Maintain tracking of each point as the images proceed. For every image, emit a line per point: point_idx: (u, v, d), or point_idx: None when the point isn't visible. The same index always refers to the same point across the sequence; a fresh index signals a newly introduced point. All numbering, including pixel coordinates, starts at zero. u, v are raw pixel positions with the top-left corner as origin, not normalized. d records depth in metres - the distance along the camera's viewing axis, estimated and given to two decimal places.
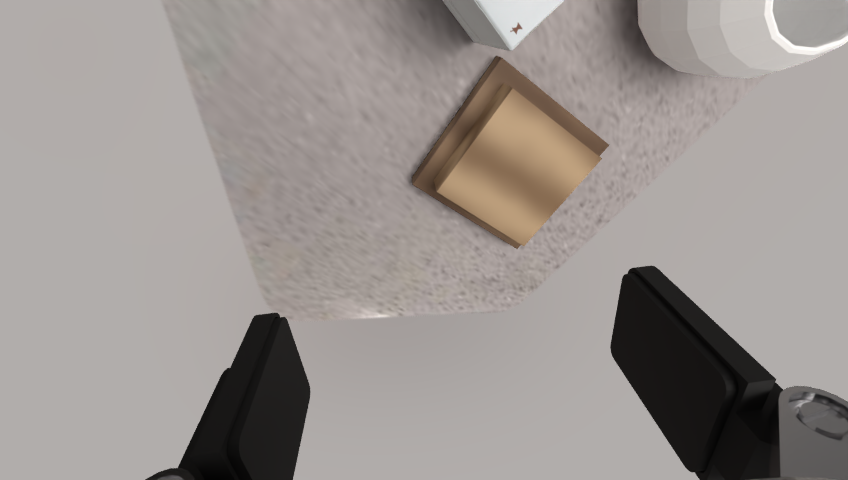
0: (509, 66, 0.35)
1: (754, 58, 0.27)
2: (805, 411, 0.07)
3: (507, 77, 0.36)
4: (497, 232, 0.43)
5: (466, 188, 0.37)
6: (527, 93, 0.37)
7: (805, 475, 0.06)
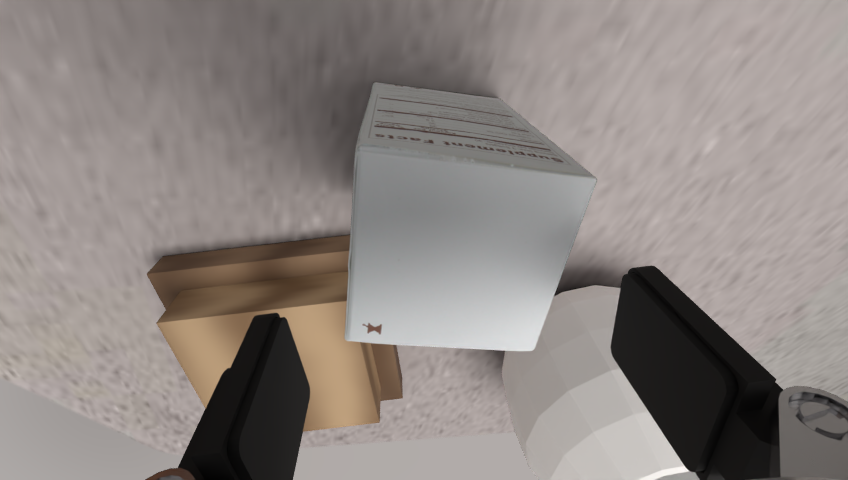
0: None
1: None
2: (805, 411, 0.07)
3: None
4: None
5: (201, 346, 0.24)
6: None
7: (805, 475, 0.06)
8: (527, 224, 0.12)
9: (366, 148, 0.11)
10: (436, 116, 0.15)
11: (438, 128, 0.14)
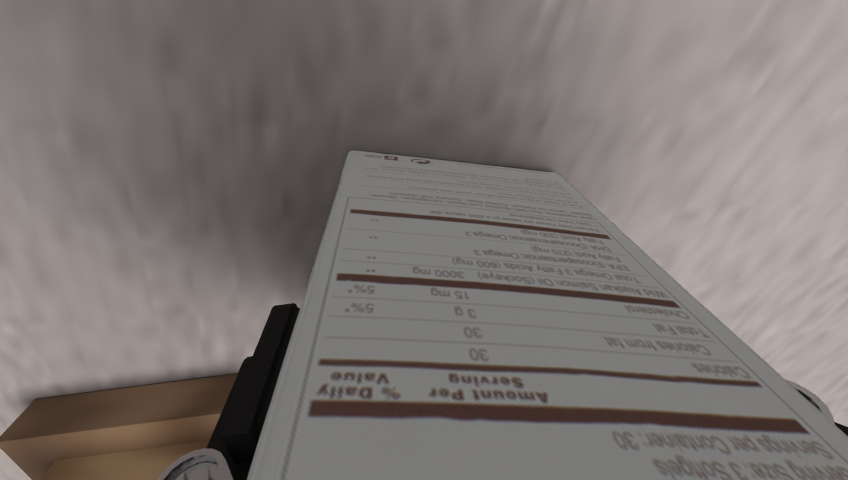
0: None
1: None
2: None
3: None
4: None
5: None
6: None
7: None
8: None
9: None
10: (474, 282, 0.07)
11: (495, 368, 0.05)
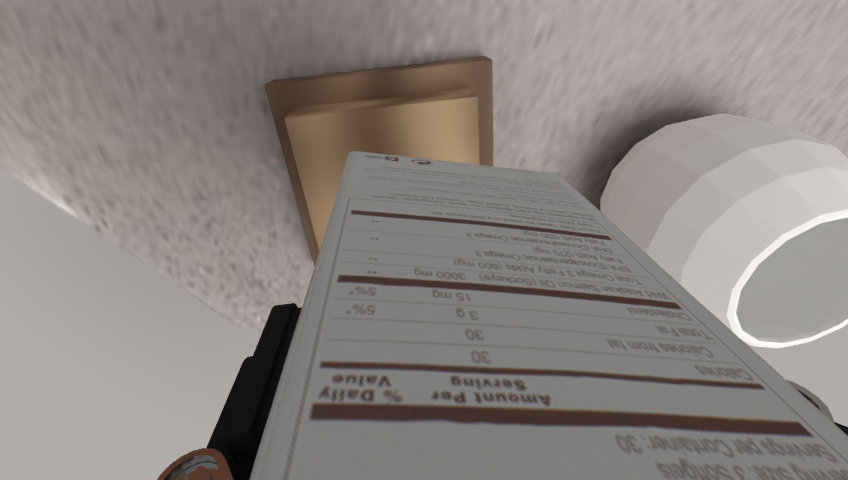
0: (489, 77, 0.25)
1: (693, 292, 0.22)
2: None
3: (477, 86, 0.25)
4: (312, 237, 0.30)
5: (323, 151, 0.24)
6: (478, 125, 0.27)
7: None
8: None
9: None
10: (476, 283, 0.07)
11: (497, 371, 0.05)
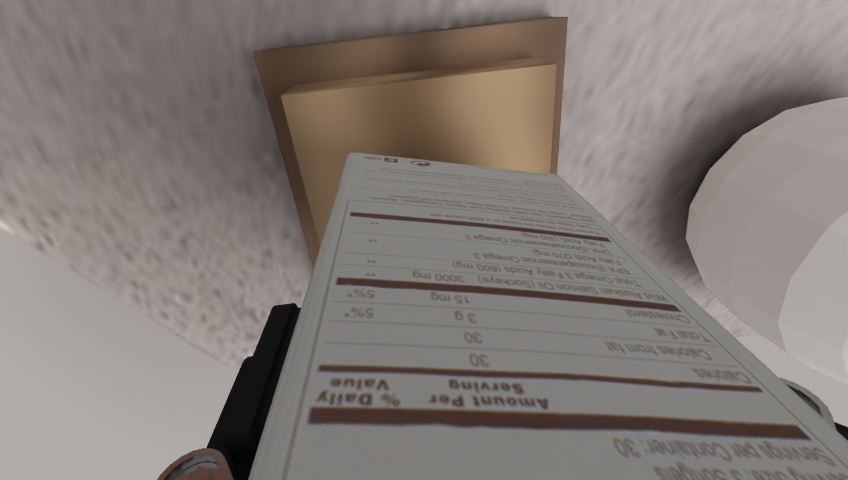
0: (562, 42, 0.18)
1: None
2: None
3: (544, 55, 0.19)
4: None
5: (336, 143, 0.17)
6: None
7: None
8: None
9: None
10: (474, 286, 0.07)
11: (495, 373, 0.05)
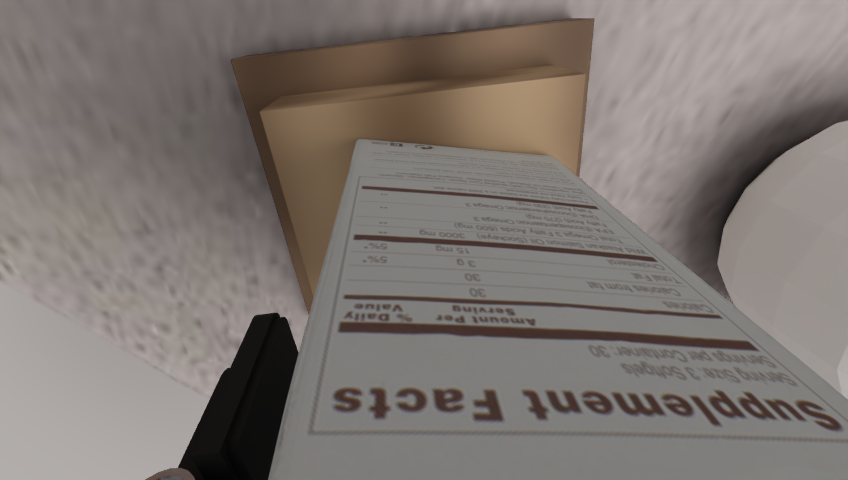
0: (587, 48, 0.16)
1: None
2: None
3: (567, 62, 0.16)
4: (309, 288, 0.20)
5: (326, 166, 0.14)
6: None
7: None
8: None
9: None
10: (474, 241, 0.08)
11: (492, 302, 0.06)
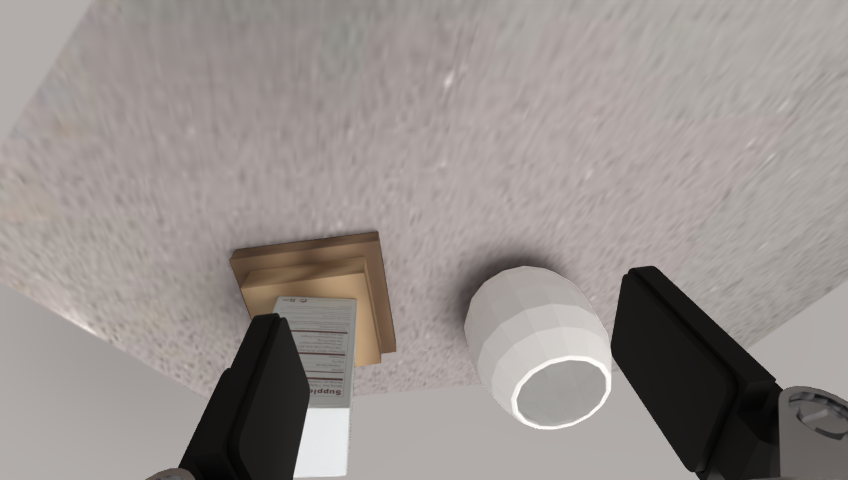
0: (378, 250, 0.39)
1: (498, 396, 0.35)
2: (805, 411, 0.07)
3: (370, 255, 0.39)
4: None
5: (267, 305, 0.37)
6: (374, 276, 0.40)
7: (805, 475, 0.06)
8: (321, 426, 0.27)
9: None
10: None
11: None
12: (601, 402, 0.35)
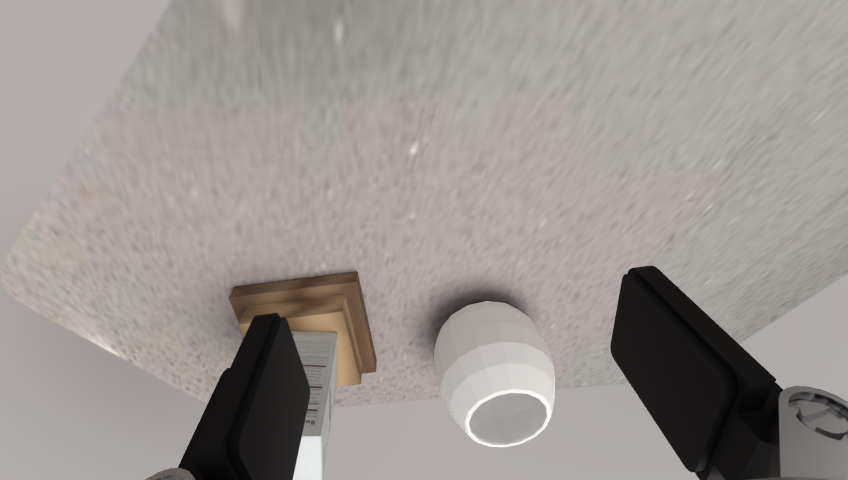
0: (356, 289, 0.45)
1: (456, 418, 0.42)
2: (805, 411, 0.07)
3: (350, 293, 0.45)
4: None
5: None
6: (354, 310, 0.46)
7: (805, 475, 0.06)
8: (299, 450, 0.33)
9: None
10: None
11: None
12: (543, 426, 0.41)
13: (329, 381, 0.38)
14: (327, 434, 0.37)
